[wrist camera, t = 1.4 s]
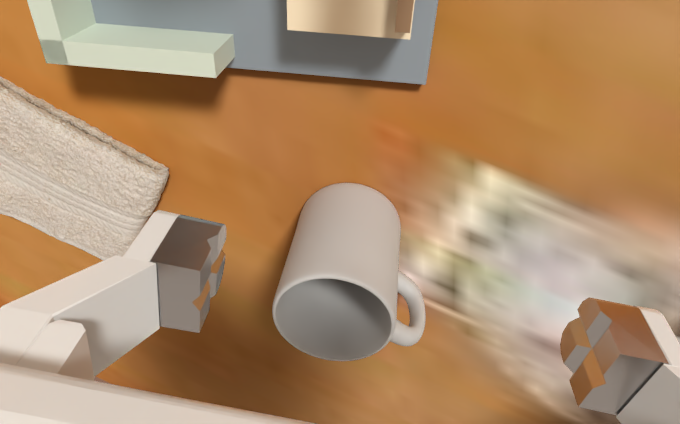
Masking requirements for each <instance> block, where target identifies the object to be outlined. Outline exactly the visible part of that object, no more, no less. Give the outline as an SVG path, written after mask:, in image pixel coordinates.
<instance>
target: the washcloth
mask: <svg viewBox="0 0 680 424" xmlns="http://www.w3.org/2000/svg"><path fill="white" fill-rule="evenodd" d="M168 169H169V168H167V167H165V166H164V165H163V164H159V163H158V162H156V161H154V160H153V159H151V158H150V157H147V156H146V155H145V154H141V153H140V152H138V151H136V150H135V149H134V148H132V147H129V146H127V145H125V144H123V143H122V142H120V141H117V140H115V139H113V138H112V136H108V135H107V134H106V133H103V132H101V131H100V130H99V129H98V128H96V127H92V126H90V125H89V124H87V123H86V122H85V121H82V120H81V119H77V118H76V117H75V116H71V115H69V114H68V113H67V112H64V111H62V110H60V109H56V108H55V107H54V106H53V105H51V104H49V103H47V102H46V101H45V100H43V99H39V98H36V97H35V96H33V95H31V94H29V93H27V92H26V91H25V90H24V89H23V88H20V87H17V86H16V85H15V84H13V83H12V82H10V81H8V80H6V79H4V78H2V77H1V76H0V214H3V215H7V216H11V217H13V218H16V219H17V220H20V221H22V222H24V223H27V224H29V225H31V226H33V227H35V228H37V229H39V230H40V231H42V232H44V233H46V234H48V235H50V236H52V237H55V238H56V239H58V240H61V241H63V242H66V243H68V244H71V245H73V246H76V247H78V248H80V249H82V250H84V251H86V252H88V253H89V254H92V255H94V256H96V257H98V258H100V259H101V260H106V259H108V258H111V257H113V256H115V255H117V256H123V255H124V254H125V252H126V251H127V249H128V248H129V246H130V245H131V244H132V242H133V241H134V239H135V238H136V237H137V235H138V234H139V232H140V231H141V229H142V228H143V227H144V225H145V223H146V221H147V220H148V217H149V216H150V215H152V212H153V211H154V209H155V207H156V206H157V204H158V201H159V200H160V197H161V194H162V192H163V191H164V188H165V185H166V182H167V178H168V177H169V171H168Z"/></svg>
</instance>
